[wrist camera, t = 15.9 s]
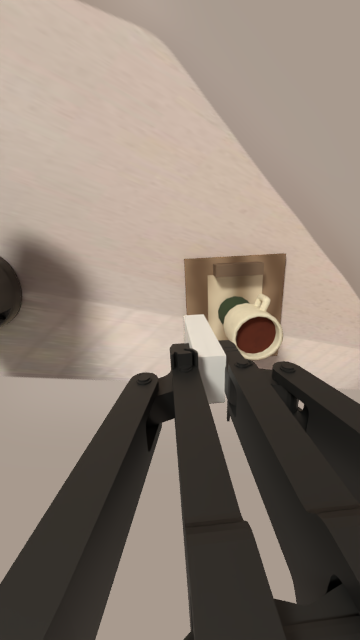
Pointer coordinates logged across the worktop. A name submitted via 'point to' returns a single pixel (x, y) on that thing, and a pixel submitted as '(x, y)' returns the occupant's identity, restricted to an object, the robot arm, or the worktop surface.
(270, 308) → the seating jig
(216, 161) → the worktop surface
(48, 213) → the worktop surface
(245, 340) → the character mug
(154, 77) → the worktop surface
